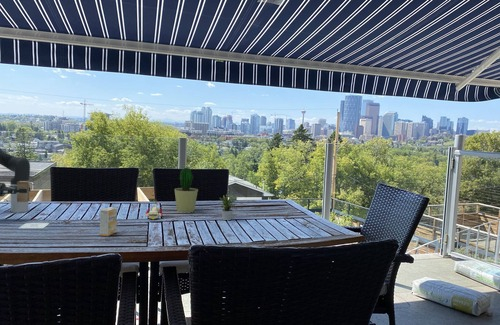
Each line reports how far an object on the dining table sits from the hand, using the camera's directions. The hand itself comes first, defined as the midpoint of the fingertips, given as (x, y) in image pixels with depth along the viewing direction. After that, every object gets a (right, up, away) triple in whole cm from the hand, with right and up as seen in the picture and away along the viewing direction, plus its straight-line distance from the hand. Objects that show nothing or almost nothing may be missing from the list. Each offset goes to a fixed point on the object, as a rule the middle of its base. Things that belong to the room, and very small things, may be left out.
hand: (28, 190), depth 213 cm
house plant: (+108, -21, +23) cm, 113 cm away
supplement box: (+50, -21, -17) cm, 57 cm away
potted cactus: (+79, -18, +45) cm, 93 cm away
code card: (+8, -18, -8) cm, 21 cm away
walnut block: (-3, -6, 0) cm, 7 cm away
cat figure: (+63, -18, +28) cm, 71 cm away
